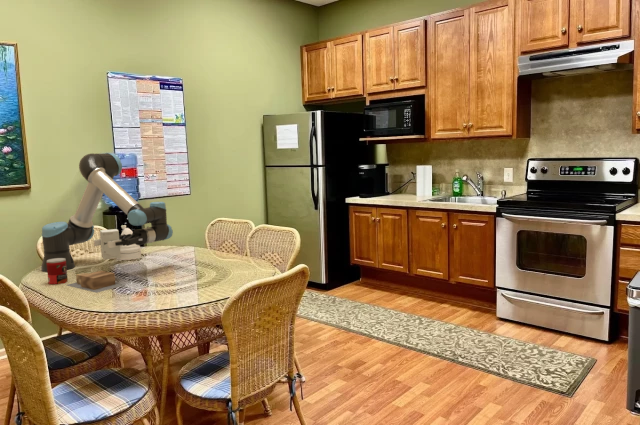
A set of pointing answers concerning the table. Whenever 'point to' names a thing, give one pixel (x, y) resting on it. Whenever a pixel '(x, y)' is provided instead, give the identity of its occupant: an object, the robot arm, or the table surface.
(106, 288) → the slate mat
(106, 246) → the supplement box
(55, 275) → the canned food
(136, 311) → the table surface
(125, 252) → the honey pot
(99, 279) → the walnut block
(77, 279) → the maple cube
